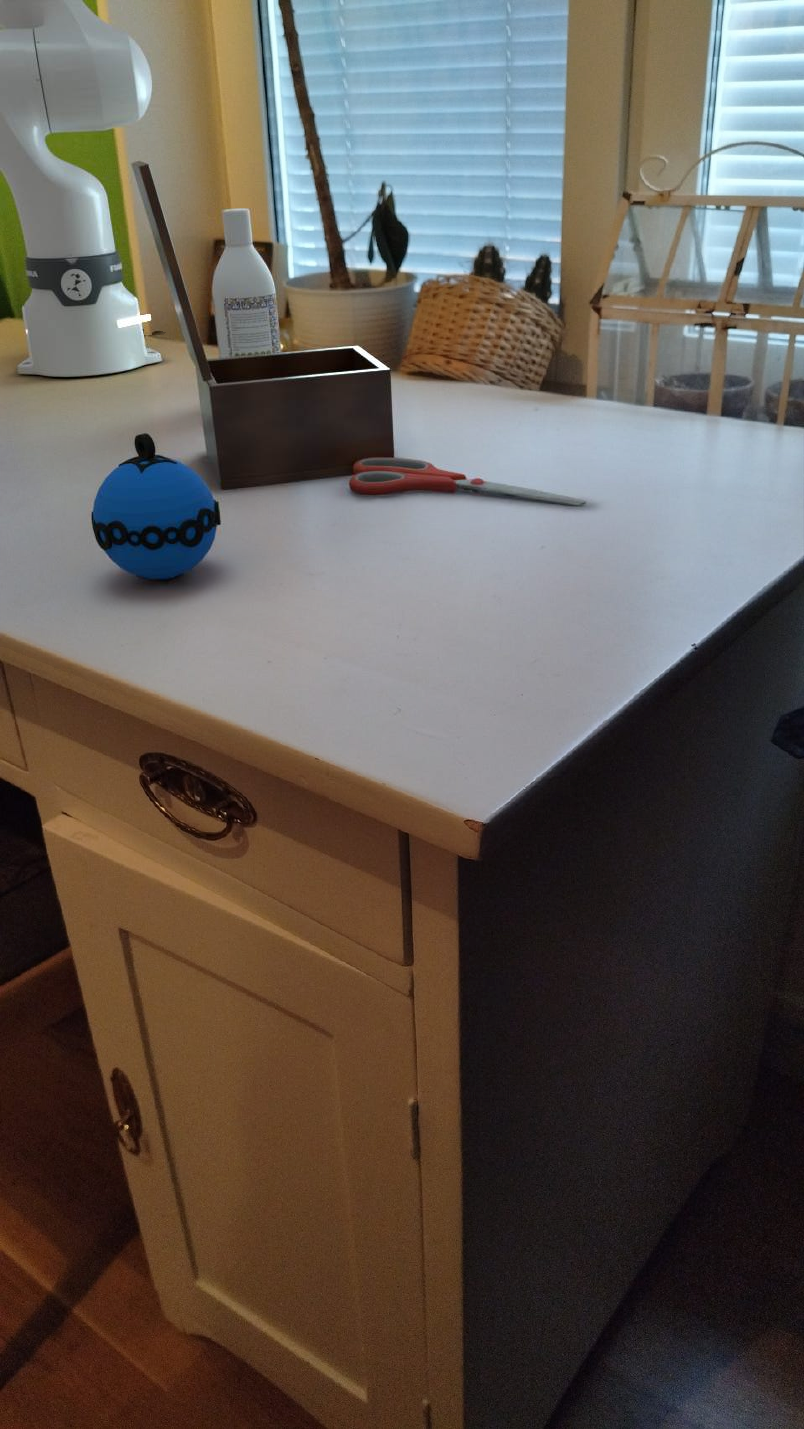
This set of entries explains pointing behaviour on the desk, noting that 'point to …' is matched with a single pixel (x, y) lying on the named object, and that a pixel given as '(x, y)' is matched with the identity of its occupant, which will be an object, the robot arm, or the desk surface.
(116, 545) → the ornament
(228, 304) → the bath foam
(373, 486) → the scissors
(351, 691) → the desk surface
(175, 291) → the lid
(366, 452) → the chest
